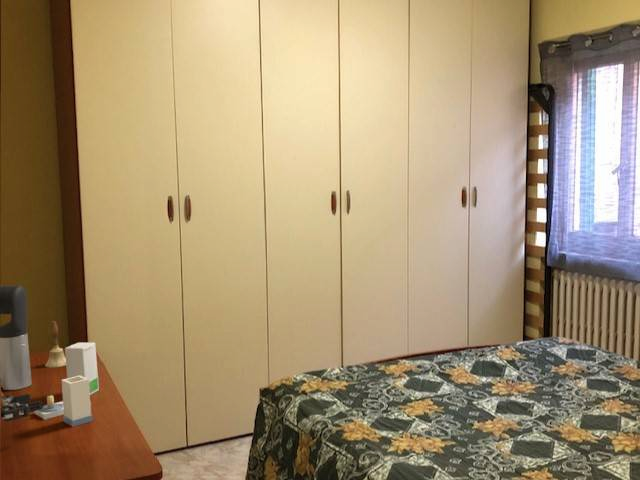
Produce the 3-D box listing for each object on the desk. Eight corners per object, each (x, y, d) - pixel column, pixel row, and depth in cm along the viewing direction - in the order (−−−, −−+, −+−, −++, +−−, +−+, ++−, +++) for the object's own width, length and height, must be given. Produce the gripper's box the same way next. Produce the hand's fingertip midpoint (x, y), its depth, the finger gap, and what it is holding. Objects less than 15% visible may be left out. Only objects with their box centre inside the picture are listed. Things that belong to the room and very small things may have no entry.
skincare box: (86, 398, 219) (82, 349, 217) (66, 397, 221) (63, 348, 219) (99, 389, 227) (96, 341, 226) (80, 388, 229) (77, 341, 227)
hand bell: (50, 369, 252) (47, 324, 250) (41, 364, 258) (38, 321, 256) (73, 364, 257) (70, 320, 255) (64, 359, 263) (60, 317, 261)
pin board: (44, 419, 202) (43, 402, 202) (34, 413, 207) (33, 397, 207) (91, 406, 212) (89, 390, 211) (80, 401, 217) (79, 385, 216)
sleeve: (72, 426, 196) (69, 384, 195) (63, 421, 200) (59, 379, 199) (93, 420, 200) (90, 379, 199) (83, 415, 204) (80, 374, 203)
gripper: (-20, 408, 175) (45, 392, 186) (-39, 396, 185) (24, 382, 196) (-18, 438, 175) (47, 420, 186) (-37, 424, 186) (26, 408, 197)
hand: (35, 401), depth 191 cm, fingers open, 8 cm apart
